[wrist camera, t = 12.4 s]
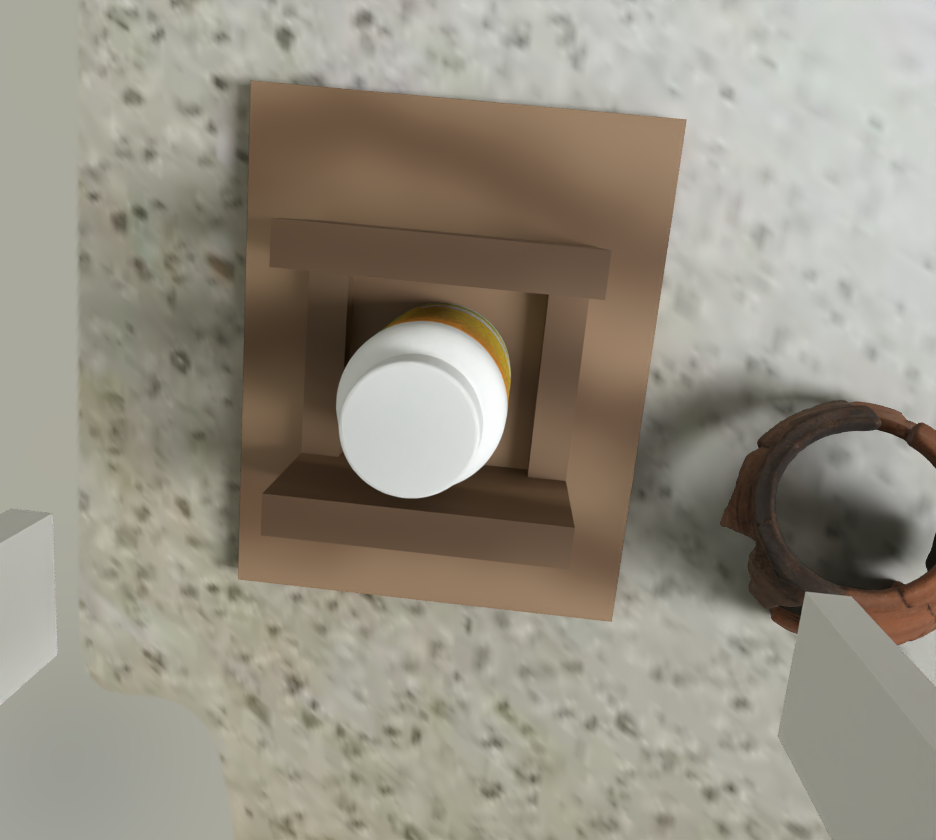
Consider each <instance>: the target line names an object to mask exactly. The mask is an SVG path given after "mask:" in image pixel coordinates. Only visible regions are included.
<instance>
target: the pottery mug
mask: <svg viewBox="0 0 936 840" xmlns="http://www.w3.org/2000/svg"><path fill="white" fill-rule="evenodd" d="M871 430H880V431H883V432H887V433H890V434H893V435H895V436H897V437H899V438H902V439H904V440H905V441H906V442H907V443H908V445H909V446H911V447H912V448H914V449H915V450H917V451H918V452H920V453H921V454H922V455H923V456H924V457H925V458H927V459H928V460H929V461H930V463H931V464H932V465H933V466H934V467H935V468H936V430H934V429H933V428H931V427H930V426H928V425H926V424H924V423H918V424H916V423H914V422H911V421H908V420H906V418H905V417H904V416H903V415H902V413H901V412H899V411H896V410H894V409H891V408H887V407H884V406H880V405H876V404H871V403H865V402H852V403H848V402H846V401H841V400H839V401H831V402H828V403H823V404H820V405H817V406H814V407H812V408H809V409H806V410H803V411H801V412H799V413H796V414H794V415H792V416H790V417H788V418H787V419H785V420H783V421H781V422H780V423H778V424H777V425H775V426H774V427H773V428H772V429H770V430H769V431H768V432H766V433H765V434H764V435H763V436H762V437H760V439H759V440H758V442H757V444H758V447H759V449H757V450H755V451H753V452H751V453H749V454H748V455H747V456H746V458H745V460H744V462H743V464H742V467H741V469H740V472H739V476H738V479H737V481H736V487H735V489H734V492H733V494H732V496H731V499H730V501H729V504H728V506H727V507H726V509H725V510H724V513H723V516H722V519H721V522H720V525H721V526H722V527H728V528H730V529H733V530H734V531H736V532H739V533H742V534H744V535H746V536H748V537H750V538H752V539H753V540H754V541H755V542H756V547H755V548H754V550H753V551H752V552H751V554H750V555H749V562H748V571H749V574H750V577H751V580H750V583H749V591H750V593H751V594H752V595H753V596H754V597H755V598H756V599H757V600H758V601H759V603H760V604H761V605H762V606H764V607H765V608H768V609H771V610H770V612H771V615H772V616H771V618H772V620H773V621H774V622H776V623H777V624H779V625H780V626H782V627H783V628H785V629H786V630H788V631H790V632H793V633H796V634H797V633H798V628H799V623H800V617H801V616H800V615H797V614H794V613H791V612H789V611H787V610H784V609H782V608H780V607H778V606H779V605H781V606H786V607H797V606H803V602H804V597H805V592H814V593H823V594H833V595H842V596H852V598H853V599H854V600H855V601H856V602H857V603H858V604H859V605H860V606H861V607H862V608H863V609H864V610H865V611H866V613H867V614H868V615H869V616H870V617H871V618H872V619H873V620H874V621H875V622H876V623H877V624H878V625H879V627H880V628H881V629H882V630H883V631H884V632H885V633H886V634H887V635H888V636H889V637H890V638H891V639H892V640H893V642H894V643H895V644H896V645H900V644H903V643H905V642H907V641H913V640H916V639H918V638H921V637H923V636H925V635H927V634H928V633H930V632H932V631H934V630H935V629H936V534H935V537H934V541H933V545H932V548H931V551H930V553H929V555H928V557H927V559H926V568H927V571H928V572H927V573H925V574H924V575H923V576H921V577H919V578H918V579H916V580H914V581H912V582H910V583H908V584H903V583H901V582H899V581H896V582H894V583H893V584H892V586H891V587H890V588H889V589H883V590H863V589H856V588H852V587H846V586H839V585H837V584H835V583H832V582H830V581H828V580H826V579H824V578H822V577H821V576H819V575H817V574H816V573H814V572H813V571H811V570H810V569H809V568H807V567H806V566H805V565H804V564H803V563H802V562H801V561H800V560H799V559H798V558H797V557H796V555H795V554H794V553H793V552H792V550H791V549H790V547H789V546H788V545H787V543H786V541H785V539H784V537H783V535H782V533H781V531H780V529H779V527H778V525H777V518H776V508H775V503H776V491H777V487H778V483H779V481H780V478H781V476H782V474H783V472H784V470H785V469H786V467H787V466H788V464H789V463H790V462H791V461H792V460H793V458H794V457H795V456H796V455H797V454H798V453H799V452H800V451H802V450H803V449H804V448H806V447H807V446H808V445H810V444H812V443H813V442H815V441H817V440H819V439H821V438H823V437H826V436H829V435H832V434H838V433H842V432H848V431H871Z"/></svg>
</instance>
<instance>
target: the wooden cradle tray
mask: <svg viewBox="0 0 936 840" xmlns="http://www.w3.org/2000/svg"><path fill="white" fill-rule="evenodd" d="M685 127H686V119H674V118H663V117H652V116H641V115H630V114H619V113H607V112H596V111H585V110H574V109H563V108H552V107H540V106H529V105H518V104H507V103H496V102H485V101H474V100H462V99H451V98H440V97H429V96H418V95H407V94H395V93H384V92H373V91H362V90H351V89H340V88H328V87H317V86H306V85H295V84H284V83H273V82H261V81H251V90H250V129H249V168H248V208H247V247H246V286H245V326H244V365H243V404H242V444H241V483H240V522H239V562H238V579H240V580H249V581H258V582H266V583H275V584H284V585H293V586H302V587H311V588H319V589H328V590H337V591H346V592H355V593H364V594H372V595H381V596H390V597H399V598H408V599H416V600H425V601H434V602H443V603H452V604H461V605H469V606H478V607H487V608H496V609H505V610H514V611H522V612H531V613H540V614H549V615H558V616H567V617H575V618H584V619H593V620H602V621H611V622H612V616H613V609H614V603H615V596H616V589H617V583H618V576H619V569H620V563H621V556H622V549H623V542H624V536H625V529H626V522H627V516H628V509H629V502H630V496H631V489H632V482H633V475H634V469H635V462H636V455H637V449H638V442H639V435H640V429H641V422H642V415H643V408H644V402H645V395H646V388H647V382H648V375H649V368H650V362H651V355H652V348H653V341H654V335H655V328H656V321H657V315H658V308H659V301H660V295H661V288H662V281H663V274H664V268H665V261H666V254H667V248H668V241H669V234H670V228H671V221H672V214H673V207H674V201H675V194H676V187H677V181H678V174H679V167H680V161H681V154H682V147H683V141H684V134H685ZM430 303H452V304H457V305H461V306H464V307H466V308H469V309H471V310H473V311H475V312H477V313H478V314H480V315H481V316H483V317H484V318H485V319H486V320H488V321H489V322H490V323H491V324H492V325H493V326H494V328H495V329H496V330H497V331H498V333H499V334H500V336H501V338H502V339H503V341H504V344H505V346H506V349H507V352H508V355H509V360H510V367H511V382H510V390H509V400H508V411H507V418H506V423H505V427H504V431H503V434H502V437H501V439H500V441H499V444H498V446H497V448H496V449H495V451H494V452H493V454H492V456H491V457H490V458H489V460H488V461H487V462H486V463H485V464H484V465H483V466H482V467H481V468H480V469H479V470H478V471H477V472H475V473H474V474H473V475H471V476H470V477H468V478H467V479H465V480H463V481H461V482H459V483H457V484H455V485H452V486H451V487H449V488H448V489H446V490H444V491H442V492H440V493H438V494H435V495H432V496H428V497H423V498H401V497H396V496H392V495H388V494H385V493H383V492H381V491H379V490H377V489H375V488H373V487H372V486H370V485H369V484H367V483H366V482H365V481H364V480H362V479H361V478H360V477H359V476H358V475H357V474H356V472H355V471H354V470H353V469H352V467H351V466H350V464H349V462H348V461H347V459H346V457H345V455H344V452H343V449H342V446H341V443H340V437H339V425H338V419H337V413H336V398H337V391H338V386H339V383H340V379H341V377H342V374H343V372H344V369H345V368H346V366H347V364H348V362H349V361H350V359H351V358H352V356H353V355H354V354H355V353H356V351H357V350H358V349H359V348H360V347H361V346H362V345H363V344H364V343H365V342H366V341H368V340H369V339H370V338H371V337H373V336H374V335H375V334H377V333H378V332H380V331H381V330H382V329H384V328H385V327H386V326H388V325H389V324H390V323H392V322H393V321H394V320H395V319H396V318H398V317H399V316H401V315H402V314H404V313H405V312H407V311H409V310H411V309H413V308H416V307H418V306H421V305H425V304H430Z"/></svg>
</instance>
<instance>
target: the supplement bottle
mask: <svg viewBox="0 0 936 840" xmlns="http://www.w3.org/2000/svg"><path fill="white" fill-rule="evenodd" d="M510 382H511V367H510V360H509V355H508V352H507V349H506V346H505V344H504V341H503V339H502V338H501V336H500V334H499V333H498V331H497V330H496V329H495V328H494V326H493V325H492V324H491V323H490V322H489V321H488V320H486V319H485V318H484V317H483V316H481V315H480V314H478V313H477V312H475V311H473V310H471V309H469V308H466V307H464V306H461V305H457V304H452V303H430V304H425V305H421V306H418V307H416V308H413V309H411V310H409V311H407V312H405V313H404V314H402V315H401V316H399V317H398V318H396V319H395V320H394V321H393V322H392V323H390V324H389V325H388V326H386V327H385V328H384V329H382V330H381V331H380V332H378V333H377V334H375V335H374V336H373V337H371V338H370V339H369V340H368V341H366V342H365V343H364V344H363V345H362V346H361V347H360V348H359V349H358V350H357V351H356V353H355V354H354V355H353V356H352V358H351V359H350V361H349V362H348V364H347V366H346V368H345V369H344V372H343V374H342V377H341V379H340V383H339V386H338V391H337V398H336V413H337V419H338V425H339V437H340V443H341V446H342V449H343V452H344V455H345V457H346V459H347V461H348V462H349V464H350V466H351V467H352V469H353V470H354V471H355V472H356V474H357V475H358V476H359V477H360V478H361V479H362V480H364V481H365V482H366V483H367V484H369V485H370V486H372V487H373V488H375V489H377V490H379V491H381V492H383V493H385V494H388V495H392V496H396V497H401V498H423V497H428V496H432V495H435V494H438V493H440V492H442V491H444V490H446V489H448V488H449V487H451V486H452V485H455V484H457V483H459V482H461V481H463V480H465V479H467V478H468V477H470V476H471V475H473V474H474V473H475V472H477V471H478V470H479V469H480V468H481V467H482V466H483V465H484V464H485V463H486V462H487V461H488V460H489V458H490V457H491V456H492V454H493V452H494V451H495V449H496V448H497V446H498V444H499V441H500V439H501V437H502V434H503V431H504V427H505V423H506V418H507V411H508V400H509V390H510Z"/></svg>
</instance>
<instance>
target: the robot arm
mask: <svg viewBox="0 0 936 840" xmlns="http://www.w3.org/2000/svg"><path fill="white" fill-rule="evenodd" d="M55 598H56V597H55V568H54V538H53V513H46V512H36V511H28V510H18V509H9V510H7V511H5V512H3V513H2V514H0V705H1V704H2V703H3V702H4V701H5V700H7V699H8V698H9V697H10V696H11V695H12V694H13V693H15V692H16V691H17V690H18V689H19V688H20V687H21V686H22V685H23V684H25V683H26V682H27V681H28V680H29V679H30V678H31V677H32V676H34V675H35V674H36V673H37V672H38V671H39V670H40V669H41V668H43V667H44V666H45V665H46V664H47V663H48V662H49V661H51V660H52V659H53V658H54V657H55V656H56V655H57V626H56V599H55ZM778 737H779V739H780V741H781V743H782V745H783V747H784V749H785V751H786V752H787V754H788V756H789V758H790V760H791V762H792V764H793V766H794V768H795V770H796V772H797V774H798V776H799V777H800V779H801V781H802V783H803V785H804V787H805V789H806V791H807V793H808V795H809V797H810V799H811V801H812V802H813V804H814V806H815V808H816V810H817V812H818V814H819V816H820V818H821V820H822V822H823V824H824V826H825V828H826V829H827V831H828V833H829V835H830V837H831V839H832V840H936V687H935V685H934V684H933V683H932V682H931V681H930V680H929V679H928V678H927V677H926V676H925V675H924V674H923V673H922V672H921V670H920V669H919V668H918V667H917V666H916V665H915V664H914V663H913V662H912V661H911V660H910V659H909V658H908V657H907V655H906V654H905V653H904V652H903V651H902V650H901V649H900V648H899V647H898V646H897V645H896V644H895V643H894V642H893V640H892V639H891V638H890V637H889V636H888V635H887V634H886V633H885V632H884V631H883V630H882V629H881V628H880V627H879V625H878V624H877V623H876V622H875V621H874V620H873V619H872V618H871V617H870V616H869V615H868V614H867V613H866V611H865V610H864V609H863V608H862V607H861V606H860V605H859V604H858V603H857V602H856V601H855V600H854V599H853V598H852V596H842V595H833V594H823V593H814V592H805V597H804V602H803V607H802V612H801V617H800V623H799V628H798V633H797V638H796V643H795V649H794V654H793V659H792V664H791V669H790V675H789V680H788V685H787V690H786V695H785V701H784V706H783V711H782V716H781V721H780V727H779V732H778Z"/></svg>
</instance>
